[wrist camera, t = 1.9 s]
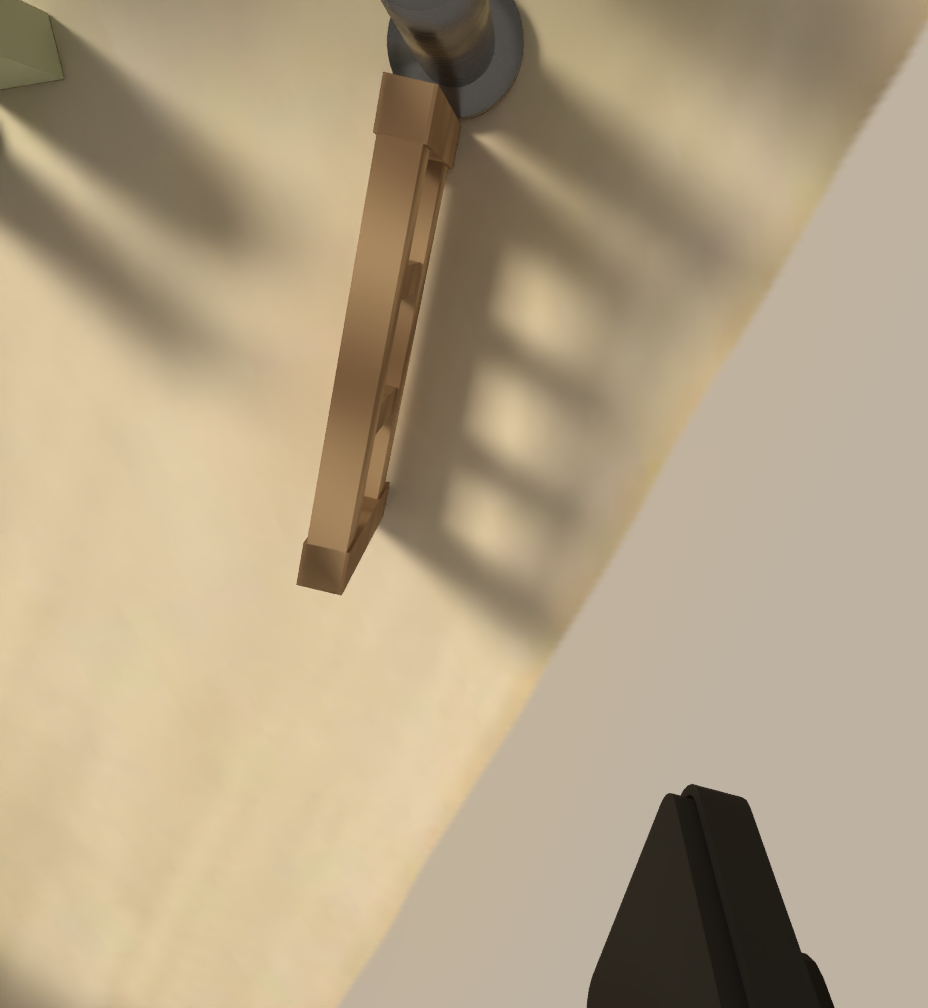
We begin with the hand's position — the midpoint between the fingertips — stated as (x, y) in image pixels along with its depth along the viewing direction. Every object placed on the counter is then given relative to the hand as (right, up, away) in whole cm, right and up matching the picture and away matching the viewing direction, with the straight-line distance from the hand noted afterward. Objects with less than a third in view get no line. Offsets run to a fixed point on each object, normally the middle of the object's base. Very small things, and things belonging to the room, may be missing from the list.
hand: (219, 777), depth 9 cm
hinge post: (+2, +18, +18) cm, 26 cm away
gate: (0, +9, +21) cm, 23 cm away
